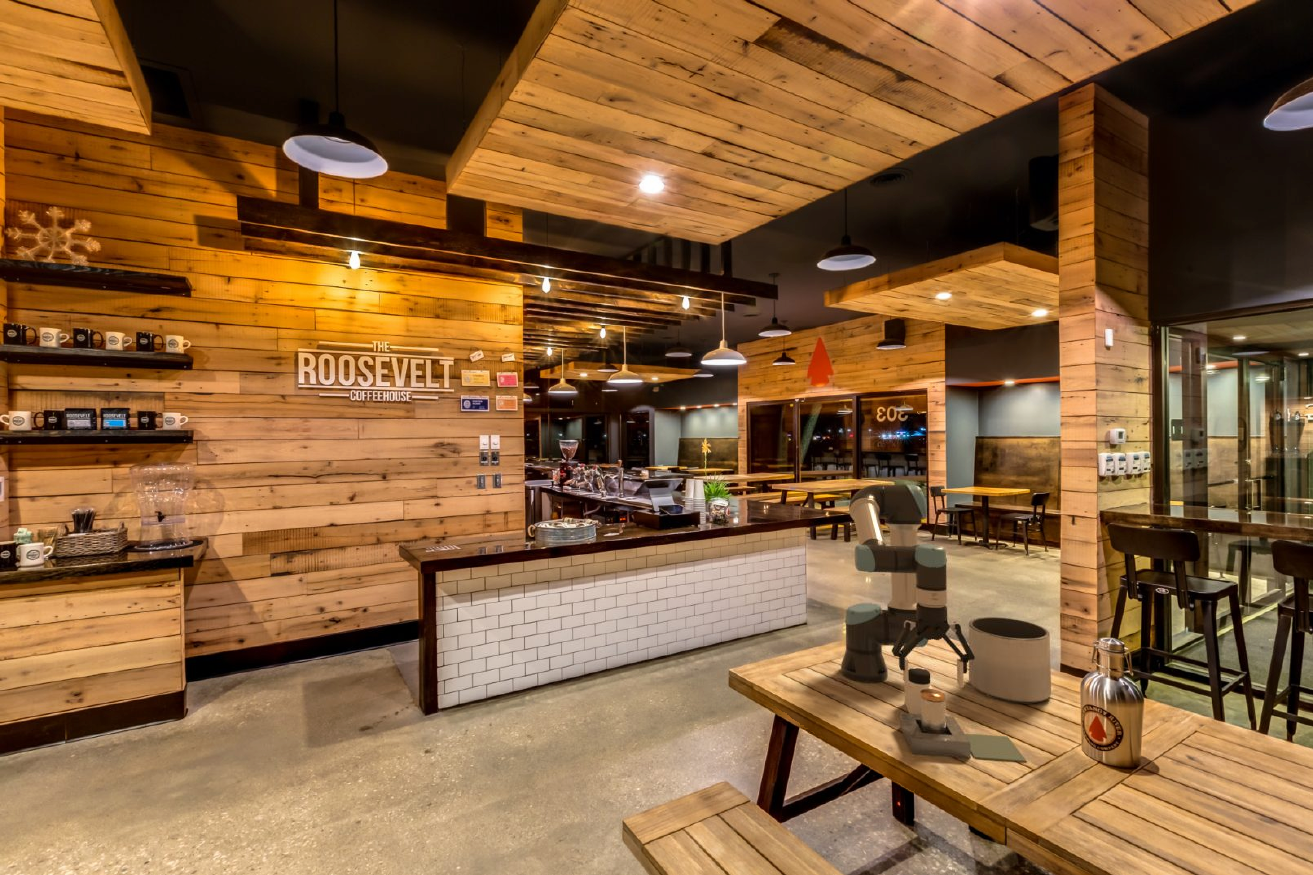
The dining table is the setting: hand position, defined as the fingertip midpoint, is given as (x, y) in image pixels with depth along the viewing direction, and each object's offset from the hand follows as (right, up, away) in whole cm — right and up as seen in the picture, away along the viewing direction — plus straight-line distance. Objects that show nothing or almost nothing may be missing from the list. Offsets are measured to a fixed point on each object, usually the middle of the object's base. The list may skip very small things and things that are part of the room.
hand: (932, 683), depth 160 cm
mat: (+14, -16, -3) cm, 21 cm away
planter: (+39, -15, +31) cm, 52 cm away
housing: (0, -16, 0) cm, 16 cm away
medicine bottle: (+5, -16, +19) cm, 25 cm away
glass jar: (0, -16, 0) cm, 16 cm away
